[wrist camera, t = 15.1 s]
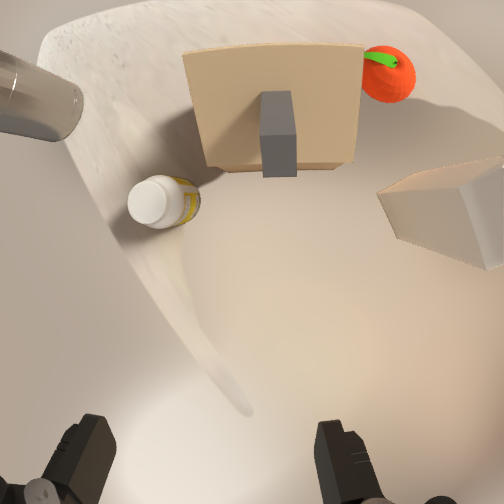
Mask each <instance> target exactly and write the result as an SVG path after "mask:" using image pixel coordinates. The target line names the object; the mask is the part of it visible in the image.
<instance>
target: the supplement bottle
mask: <svg viewBox="0 0 504 504" xmlns="http://www.w3.org/2000/svg"><path fill="white" fill-rule="evenodd" d="M200 203H201V198H200V193H199V191H198V189H197V187H196V186H195V185H194V184H193V183H192V182H190V181H188V180H186V179H182V178H177V177H171V176H165V175H155V176H151V177H149V178H147V179H146V180H144V181H142V182H139V183H138V184H136V185H135V186H134V187H133V188H132V189H131V191H130V193H129V195H128V200H127V206H128V210H129V213H130V215H131V216H132V218H133V219H134V220H136V221H137V222H139V223H141V224H145V225H146V226H148V227H151V228H154V229H163V228H168V227H172V226H175V225H179V224H183V223H186V222H188V221H190V220H191V219H193V218H194V217H195V216H196V214H197V213H198V211H199V208H200Z"/></svg>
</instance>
